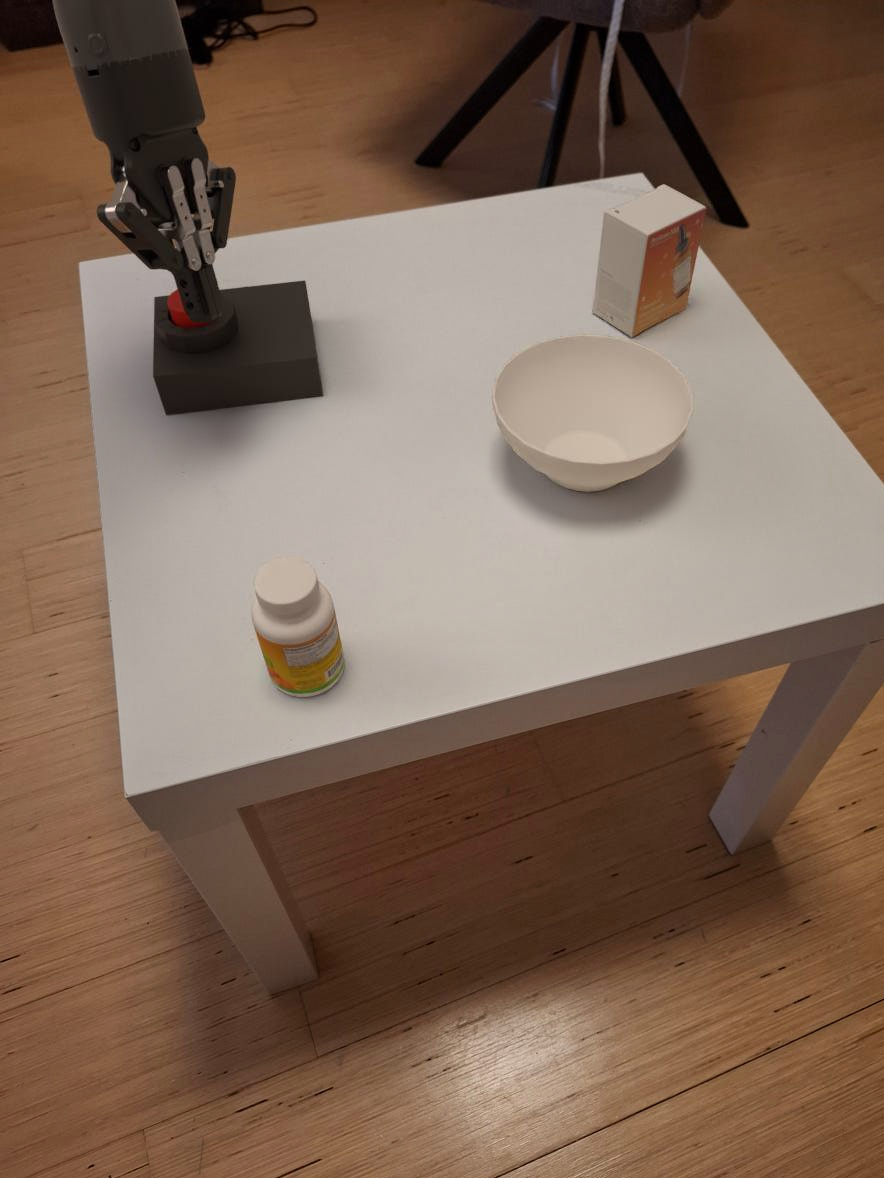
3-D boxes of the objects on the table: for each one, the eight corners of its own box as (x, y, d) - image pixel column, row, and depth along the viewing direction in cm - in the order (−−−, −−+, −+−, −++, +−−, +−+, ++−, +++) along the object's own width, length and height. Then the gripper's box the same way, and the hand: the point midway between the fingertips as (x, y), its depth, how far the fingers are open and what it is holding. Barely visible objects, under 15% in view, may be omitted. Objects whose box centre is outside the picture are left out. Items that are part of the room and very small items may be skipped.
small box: (631, 339, 90) (646, 236, 82) (590, 313, 93) (601, 210, 84) (688, 308, 93) (709, 205, 85) (647, 283, 96) (664, 181, 87)
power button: (172, 331, 82) (166, 314, 80) (172, 305, 84) (167, 287, 83) (218, 326, 82) (214, 308, 81) (217, 300, 84) (213, 282, 83)
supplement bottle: (263, 647, 68) (235, 558, 60) (336, 630, 69) (318, 539, 61) (276, 707, 65) (248, 621, 57) (352, 688, 66) (335, 600, 58)
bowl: (597, 560, 73) (606, 495, 68) (452, 463, 80) (449, 396, 74) (716, 459, 80) (734, 392, 75) (574, 377, 87) (580, 310, 81)
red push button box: (165, 415, 84) (146, 358, 79) (166, 335, 91) (148, 279, 86) (323, 395, 85) (313, 339, 80) (311, 318, 92) (302, 262, 87)
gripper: (150, 47, 67) (220, 294, 77) (11, 71, 58) (110, 349, 68) (234, 34, 64) (295, 292, 74) (102, 57, 55) (192, 350, 65)
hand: (207, 319), depth 71 cm, fingers closed
